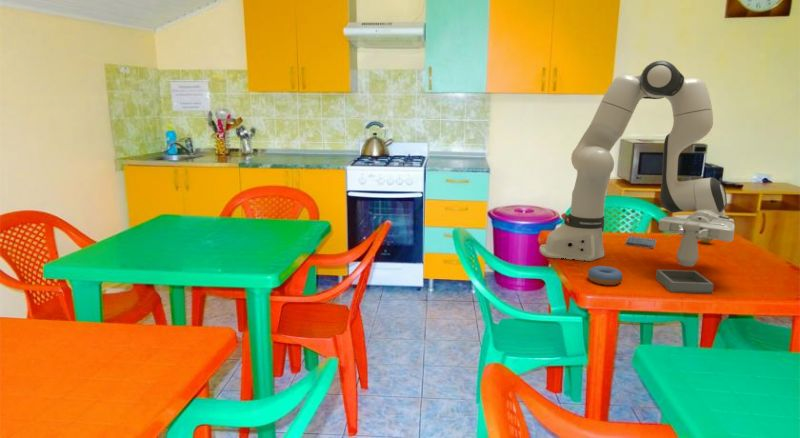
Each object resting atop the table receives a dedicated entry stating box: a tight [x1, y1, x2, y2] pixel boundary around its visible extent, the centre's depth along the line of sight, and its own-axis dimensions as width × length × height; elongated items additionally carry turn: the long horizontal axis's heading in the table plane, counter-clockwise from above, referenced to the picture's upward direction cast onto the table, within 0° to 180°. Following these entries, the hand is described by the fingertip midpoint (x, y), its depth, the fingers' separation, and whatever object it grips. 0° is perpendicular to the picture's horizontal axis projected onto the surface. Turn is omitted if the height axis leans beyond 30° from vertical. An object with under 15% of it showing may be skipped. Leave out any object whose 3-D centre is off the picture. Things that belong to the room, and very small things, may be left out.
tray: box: [655, 269, 714, 295], centre depth 162 cm, size 12×12×3 cm
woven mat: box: [624, 235, 657, 250], centre depth 207 cm, size 10×11×2 cm
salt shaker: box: [676, 221, 700, 268], centre depth 159 cm, size 6×6×13 cm
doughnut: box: [587, 265, 623, 286], centre depth 166 cm, size 10×10×5 cm
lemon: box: [700, 239, 714, 244], centre depth 207 cm, size 6×6×8 cm
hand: (689, 233), depth 158 cm, fingers closed on salt shaker, 3 cm apart
